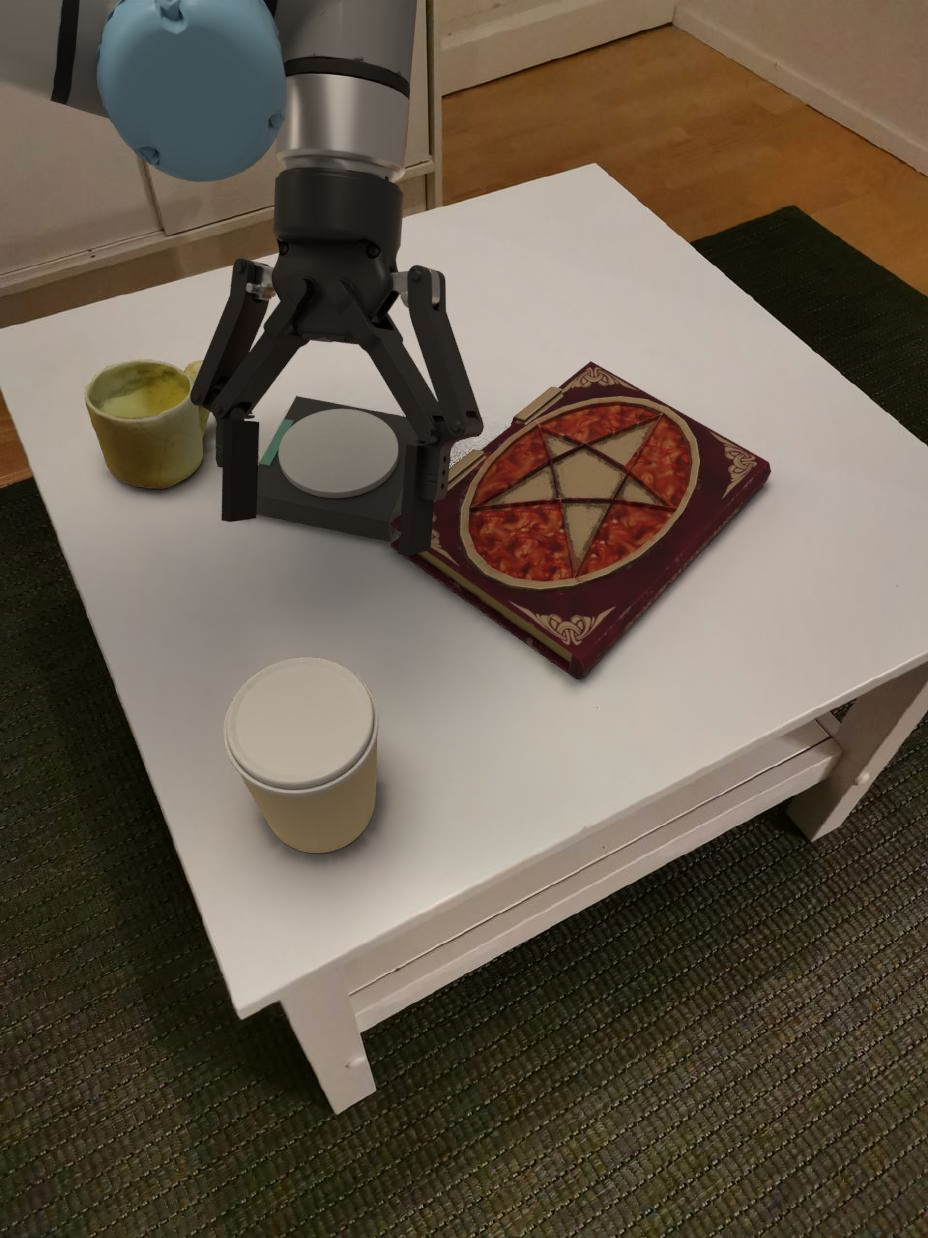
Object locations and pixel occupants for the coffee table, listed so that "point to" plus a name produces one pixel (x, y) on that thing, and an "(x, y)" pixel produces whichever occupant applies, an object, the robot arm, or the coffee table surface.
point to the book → (584, 514)
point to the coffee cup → (307, 750)
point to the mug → (147, 421)
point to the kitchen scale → (336, 468)
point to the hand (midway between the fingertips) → (322, 535)
